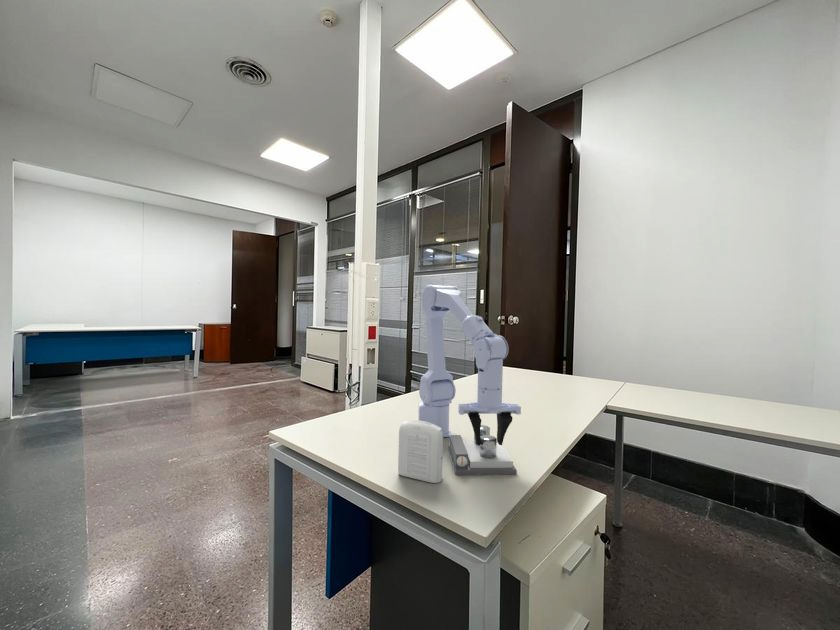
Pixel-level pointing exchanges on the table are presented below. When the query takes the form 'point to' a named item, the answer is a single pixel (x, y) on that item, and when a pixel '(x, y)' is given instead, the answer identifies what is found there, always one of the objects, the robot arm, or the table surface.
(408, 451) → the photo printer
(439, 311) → the robot arm
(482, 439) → the spacer
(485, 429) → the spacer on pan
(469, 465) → the scale
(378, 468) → the table surface
